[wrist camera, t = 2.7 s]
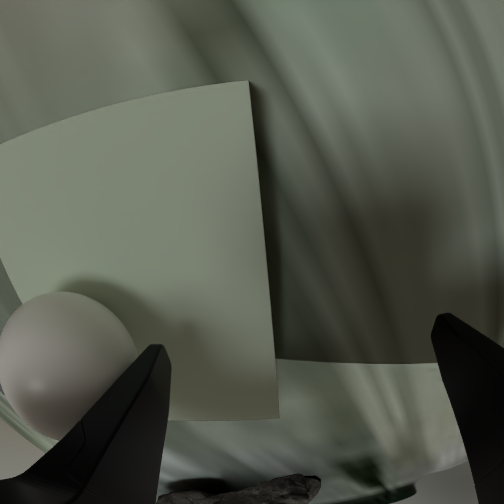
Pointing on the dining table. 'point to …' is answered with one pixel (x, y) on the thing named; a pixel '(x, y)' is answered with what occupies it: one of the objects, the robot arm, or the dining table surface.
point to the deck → (155, 237)
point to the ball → (61, 359)
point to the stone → (255, 493)
